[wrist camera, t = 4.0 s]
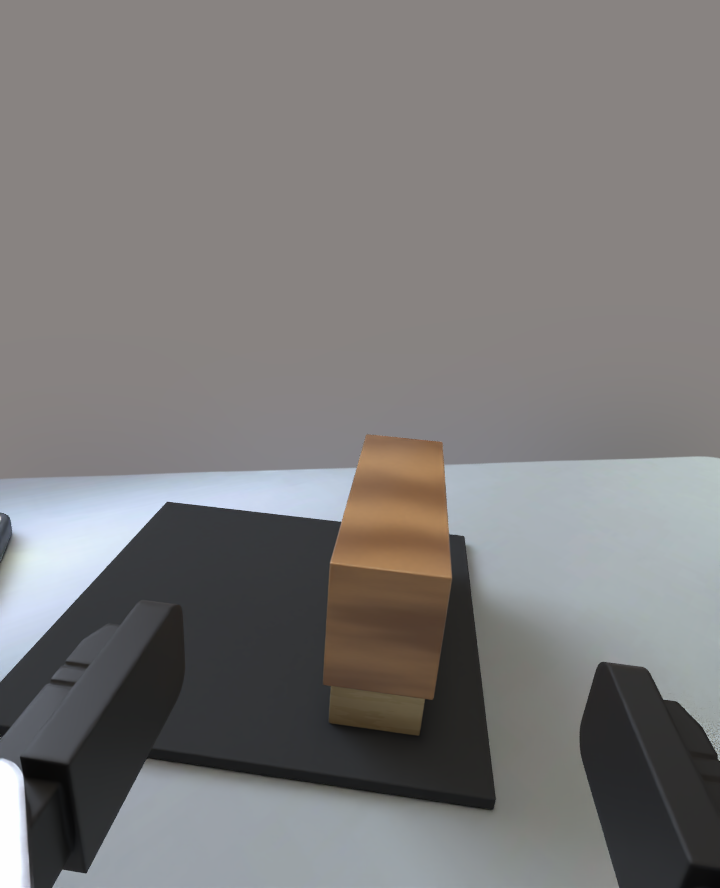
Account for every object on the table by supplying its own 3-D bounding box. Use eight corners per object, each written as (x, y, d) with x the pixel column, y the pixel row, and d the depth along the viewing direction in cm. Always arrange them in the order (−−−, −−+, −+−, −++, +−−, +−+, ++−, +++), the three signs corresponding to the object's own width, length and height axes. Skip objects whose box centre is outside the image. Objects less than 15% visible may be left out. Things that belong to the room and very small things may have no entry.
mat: (463, 542, 41) (464, 535, 41) (493, 810, 22) (496, 799, 22) (167, 508, 42) (167, 501, 42) (-34, 730, 24) (-36, 720, 24)
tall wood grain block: (356, 553, 37) (366, 433, 34) (426, 562, 37) (442, 441, 34) (319, 730, 24) (329, 563, 21) (426, 745, 24) (452, 577, 21)
